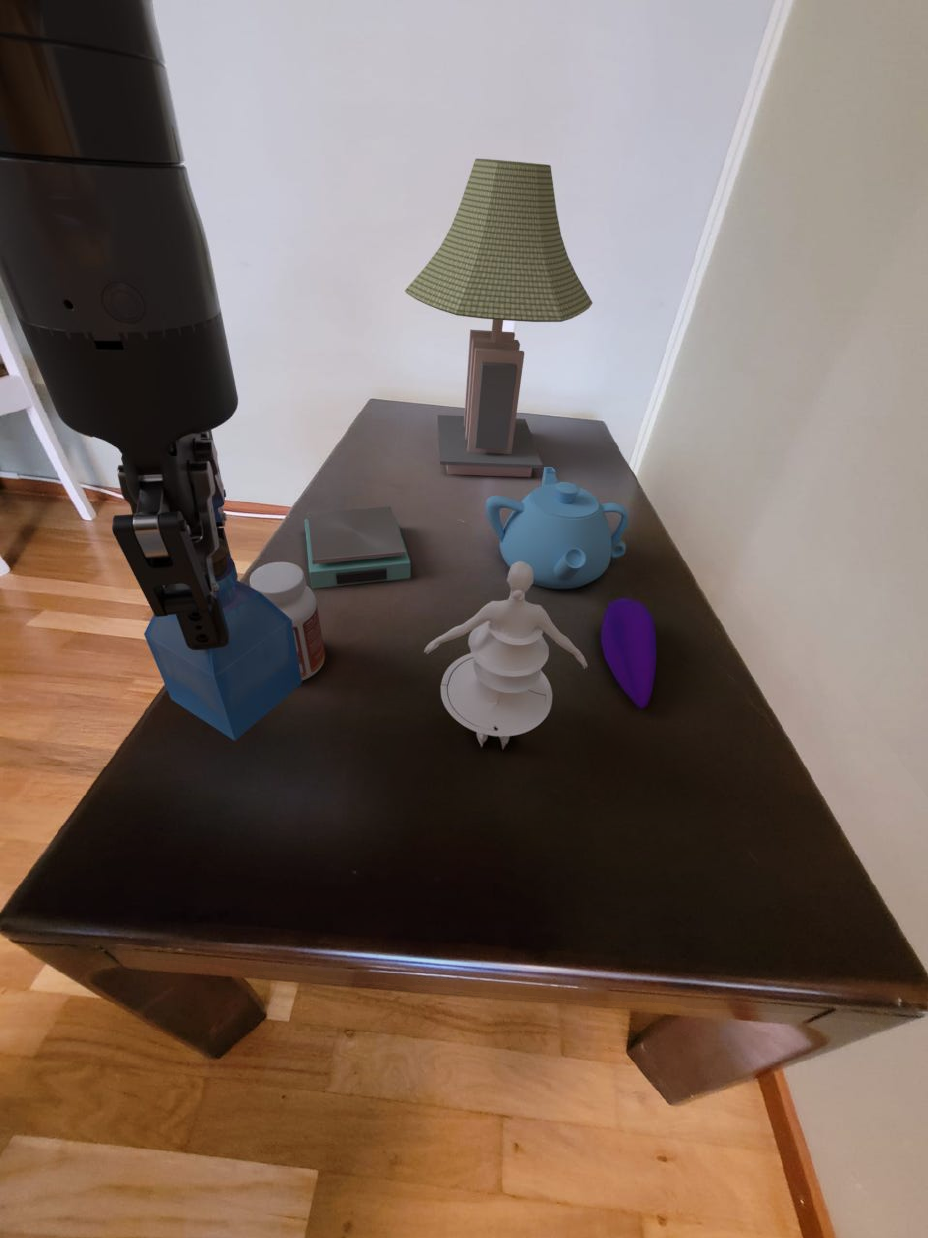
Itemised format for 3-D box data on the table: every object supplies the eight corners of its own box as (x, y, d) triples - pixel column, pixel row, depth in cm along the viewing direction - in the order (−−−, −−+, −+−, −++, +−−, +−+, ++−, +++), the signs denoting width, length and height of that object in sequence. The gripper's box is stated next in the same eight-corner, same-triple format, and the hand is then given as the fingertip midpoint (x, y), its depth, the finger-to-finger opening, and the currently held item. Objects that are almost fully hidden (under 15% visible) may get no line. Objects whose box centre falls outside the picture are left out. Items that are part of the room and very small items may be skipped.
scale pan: (312, 564, 63) (312, 560, 63) (307, 516, 71) (307, 512, 70) (405, 555, 66) (405, 551, 65) (391, 510, 73) (390, 506, 73)
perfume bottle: (302, 682, 39) (278, 545, 32) (235, 741, 35) (188, 599, 27) (241, 648, 42) (205, 511, 34) (171, 699, 37) (111, 556, 29)
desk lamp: (407, 423, 105) (406, 151, 79) (549, 429, 107) (595, 167, 81) (403, 485, 86) (401, 152, 59) (577, 491, 88) (649, 174, 62)
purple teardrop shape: (626, 691, 50) (604, 581, 60) (612, 720, 54) (593, 611, 64) (677, 695, 50) (646, 584, 60) (660, 723, 54) (633, 614, 64)
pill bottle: (305, 633, 59) (290, 548, 51) (337, 665, 55) (326, 578, 48) (251, 660, 55) (227, 572, 48) (282, 695, 52) (262, 607, 45)
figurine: (559, 701, 54) (607, 528, 41) (567, 786, 47) (628, 610, 33) (428, 689, 54) (434, 512, 41) (415, 772, 47) (418, 591, 33)
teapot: (464, 566, 70) (471, 487, 63) (537, 518, 81) (550, 446, 73) (564, 621, 63) (585, 539, 56) (630, 561, 74) (655, 486, 66)
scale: (311, 590, 64) (308, 569, 62) (306, 535, 73) (303, 514, 71) (411, 580, 67) (411, 559, 65) (394, 528, 76) (394, 508, 74)
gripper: (65, 264, 27) (164, 550, 38) (-64, 350, 16) (124, 708, 27) (228, 271, 28) (276, 542, 39) (204, 351, 18) (278, 687, 29)
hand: (213, 609), depth 33 cm, fingers closed on perfume bottle, 5 cm apart
